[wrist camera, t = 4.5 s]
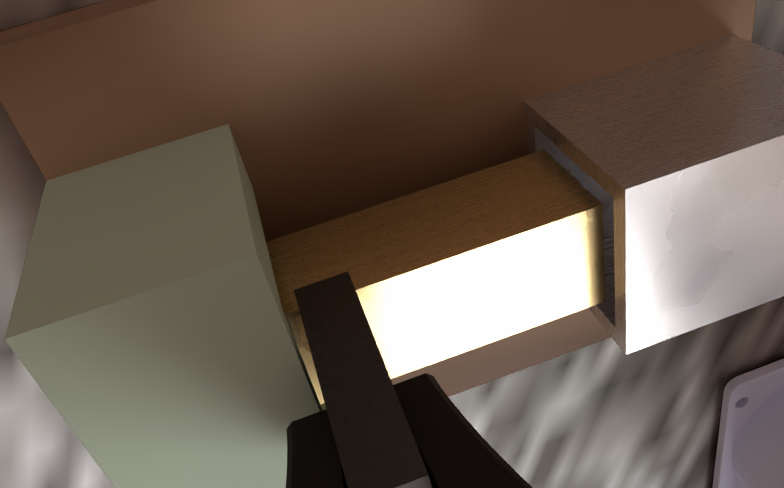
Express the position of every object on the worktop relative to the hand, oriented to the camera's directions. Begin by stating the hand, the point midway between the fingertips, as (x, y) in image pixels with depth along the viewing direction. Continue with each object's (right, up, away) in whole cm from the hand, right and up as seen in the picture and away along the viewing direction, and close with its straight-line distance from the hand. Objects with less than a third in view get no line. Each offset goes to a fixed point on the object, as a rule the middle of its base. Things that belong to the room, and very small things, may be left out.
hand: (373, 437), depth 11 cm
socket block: (-4, +2, +4) cm, 6 cm away
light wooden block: (0, +3, +4) cm, 5 cm away
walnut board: (+1, +4, +6) cm, 7 cm away
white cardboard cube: (+6, +5, +5) cm, 9 cm away
